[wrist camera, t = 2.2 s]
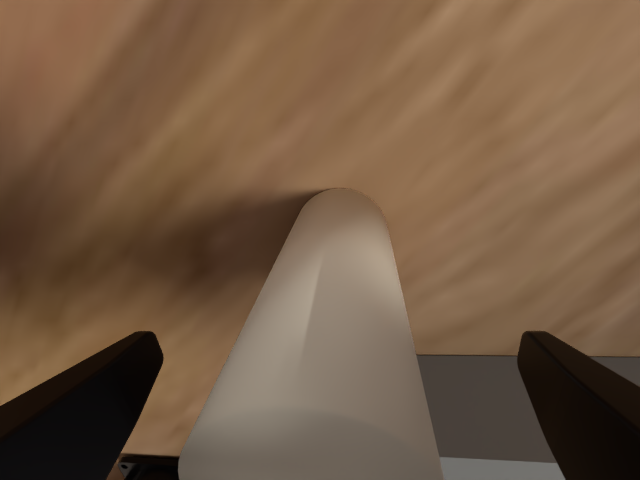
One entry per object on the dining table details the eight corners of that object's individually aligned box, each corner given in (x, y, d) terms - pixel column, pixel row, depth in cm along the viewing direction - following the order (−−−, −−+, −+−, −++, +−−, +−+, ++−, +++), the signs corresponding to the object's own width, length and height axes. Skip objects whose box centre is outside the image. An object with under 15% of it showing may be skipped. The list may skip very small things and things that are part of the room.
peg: (301, 273, 15) (213, 553, 6) (290, 191, 13) (141, 402, 4) (387, 271, 14) (440, 576, 5) (387, 185, 13) (461, 412, 4)
